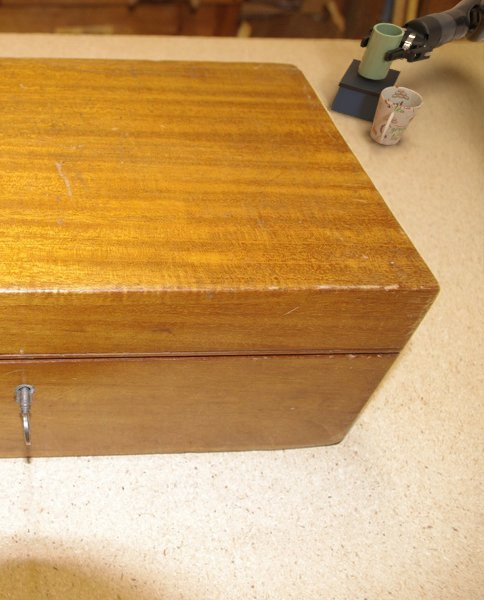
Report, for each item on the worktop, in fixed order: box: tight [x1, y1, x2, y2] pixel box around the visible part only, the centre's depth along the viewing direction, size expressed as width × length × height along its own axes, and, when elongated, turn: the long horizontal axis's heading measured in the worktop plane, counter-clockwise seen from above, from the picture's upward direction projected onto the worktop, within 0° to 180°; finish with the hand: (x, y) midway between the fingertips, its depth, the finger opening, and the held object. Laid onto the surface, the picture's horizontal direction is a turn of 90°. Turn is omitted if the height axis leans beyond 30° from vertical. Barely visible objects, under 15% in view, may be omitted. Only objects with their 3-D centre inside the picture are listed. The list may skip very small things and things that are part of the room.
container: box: [331, 58, 401, 123], centre depth 161 cm, size 11×13×7 cm
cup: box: [358, 22, 405, 80], centre depth 154 cm, size 6×6×10 cm
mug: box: [369, 86, 424, 146], centre depth 149 cm, size 8×13×10 cm, turn 149°
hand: (374, 49), depth 152 cm, fingers closed on cup, 6 cm apart
